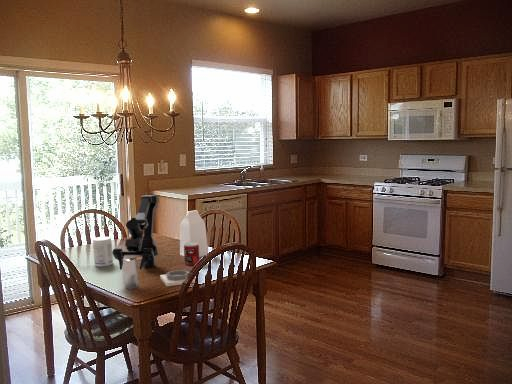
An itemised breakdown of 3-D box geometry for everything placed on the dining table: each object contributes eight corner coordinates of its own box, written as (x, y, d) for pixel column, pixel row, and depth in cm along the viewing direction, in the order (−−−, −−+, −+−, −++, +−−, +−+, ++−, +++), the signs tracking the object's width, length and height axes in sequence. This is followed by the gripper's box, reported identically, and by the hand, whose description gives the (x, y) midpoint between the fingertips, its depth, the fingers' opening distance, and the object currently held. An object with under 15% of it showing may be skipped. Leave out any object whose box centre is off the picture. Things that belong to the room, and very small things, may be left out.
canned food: (181, 263, 254) (181, 244, 253) (193, 260, 260) (192, 241, 258) (190, 266, 249) (189, 246, 247) (202, 263, 254) (201, 243, 253)
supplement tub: (107, 261, 262) (106, 235, 260) (116, 264, 255) (114, 238, 254) (91, 264, 255) (89, 238, 253) (99, 268, 249) (97, 241, 247)
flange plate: (160, 278, 230) (159, 271, 229) (188, 274, 235) (187, 267, 235) (166, 286, 217) (166, 279, 216) (195, 282, 222) (195, 275, 222)
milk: (190, 258, 264) (188, 213, 261) (180, 254, 273) (178, 211, 269) (208, 255, 271) (206, 210, 268) (197, 251, 280) (196, 208, 277)
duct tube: (123, 285, 219) (122, 258, 217) (136, 284, 221) (135, 257, 220) (125, 289, 213) (123, 262, 212) (138, 287, 216) (137, 260, 214)
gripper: (112, 231, 220) (105, 260, 211) (151, 231, 220) (146, 260, 210) (118, 244, 229) (112, 272, 219) (156, 243, 229) (151, 272, 219)
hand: (130, 269), depth 217 cm, fingers open, 9 cm apart
